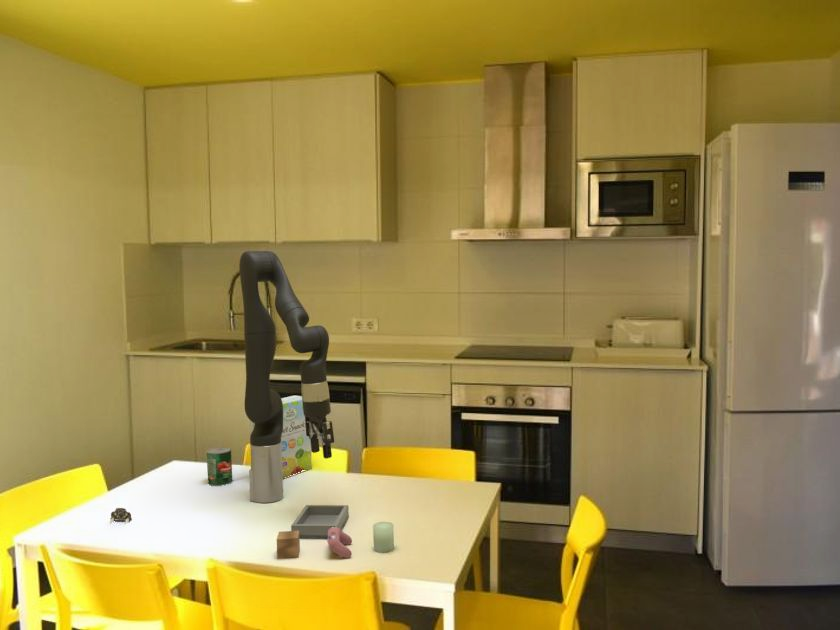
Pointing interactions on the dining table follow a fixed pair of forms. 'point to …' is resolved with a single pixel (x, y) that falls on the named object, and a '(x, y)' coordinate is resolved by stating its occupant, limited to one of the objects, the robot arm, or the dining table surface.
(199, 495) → the dining table surface
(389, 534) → the sage cylinder
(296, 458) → the snack box
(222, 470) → the canned tomato
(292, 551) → the walnut cube
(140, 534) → the dining table surface
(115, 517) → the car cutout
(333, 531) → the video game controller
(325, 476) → the dining table surface
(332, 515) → the charcoal tray
